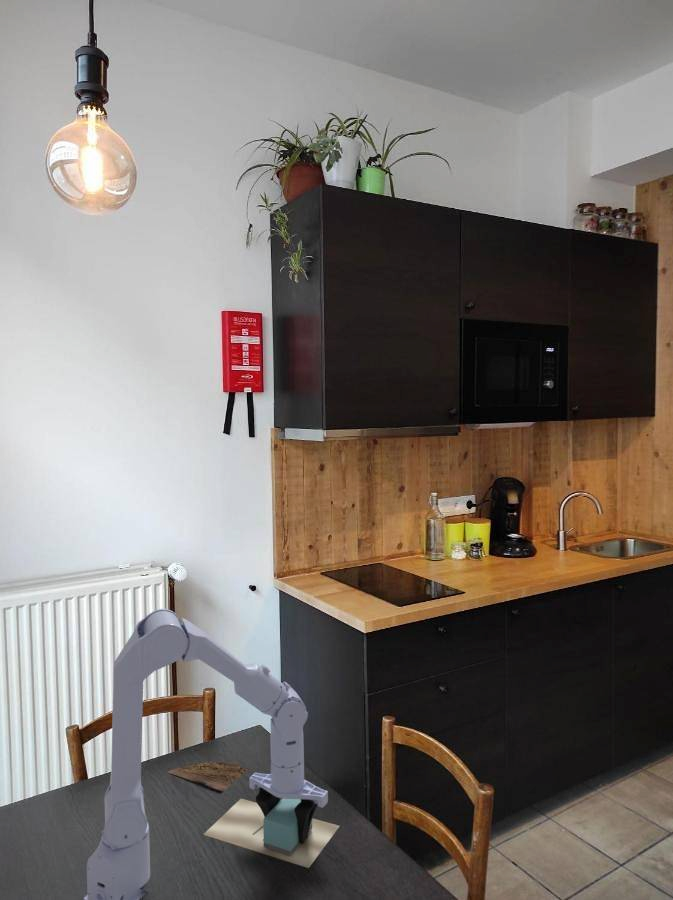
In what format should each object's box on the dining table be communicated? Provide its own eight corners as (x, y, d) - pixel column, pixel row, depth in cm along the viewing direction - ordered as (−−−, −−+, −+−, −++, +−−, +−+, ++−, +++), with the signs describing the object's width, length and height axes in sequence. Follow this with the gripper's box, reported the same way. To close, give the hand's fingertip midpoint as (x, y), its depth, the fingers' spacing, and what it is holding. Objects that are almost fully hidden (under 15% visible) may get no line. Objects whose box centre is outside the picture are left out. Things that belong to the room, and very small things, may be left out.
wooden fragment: (293, 775, 140) (293, 770, 140) (272, 804, 129) (272, 799, 129) (184, 757, 148) (184, 753, 148) (157, 784, 137) (157, 779, 137)
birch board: (308, 876, 109) (308, 867, 109) (203, 842, 118) (203, 834, 118) (339, 834, 120) (339, 825, 120) (241, 805, 129) (240, 798, 128)
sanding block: (290, 855, 111) (290, 827, 111) (263, 846, 113) (263, 818, 113) (312, 828, 118) (312, 801, 118) (286, 820, 121) (286, 793, 120)
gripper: (335, 757, 116) (336, 832, 116) (263, 740, 122) (264, 812, 123) (316, 777, 109) (318, 857, 110) (242, 759, 115) (243, 834, 116)
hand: (288, 835), depth 116 cm, fingers closed on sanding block, 5 cm apart
